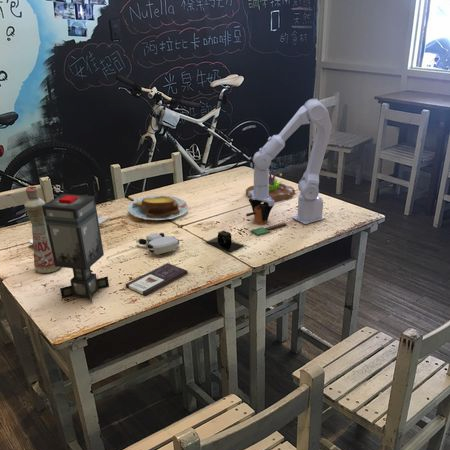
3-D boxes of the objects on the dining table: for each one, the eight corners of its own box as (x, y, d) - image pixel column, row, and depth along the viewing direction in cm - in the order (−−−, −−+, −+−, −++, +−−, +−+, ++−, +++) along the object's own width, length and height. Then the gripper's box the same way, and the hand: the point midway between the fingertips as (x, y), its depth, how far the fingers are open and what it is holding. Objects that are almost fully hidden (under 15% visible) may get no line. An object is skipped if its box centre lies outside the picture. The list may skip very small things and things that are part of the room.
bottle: (68, 263, 172) (51, 182, 158) (54, 275, 165) (35, 191, 151) (44, 261, 174) (26, 181, 160) (30, 273, 167) (9, 190, 152)
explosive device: (80, 282, 160) (62, 190, 145) (109, 286, 158) (94, 193, 142) (62, 298, 152) (40, 202, 137) (92, 303, 149) (74, 205, 134)
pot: (262, 218, 203) (262, 201, 200) (270, 222, 199) (270, 205, 196) (242, 223, 199) (242, 206, 195) (249, 227, 195) (249, 210, 192)
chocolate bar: (187, 270, 163) (145, 292, 152) (187, 273, 164) (145, 295, 152) (167, 262, 168) (125, 283, 157) (167, 265, 169) (126, 286, 157)
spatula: (281, 223, 198) (281, 221, 198) (288, 227, 194) (288, 225, 194) (250, 231, 192) (250, 229, 191) (257, 236, 188) (257, 234, 188)
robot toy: (134, 248, 183) (154, 260, 172) (132, 236, 181) (152, 247, 170) (164, 239, 189) (185, 250, 178) (163, 228, 187) (184, 238, 176)
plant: (238, 194, 227) (237, 170, 222) (268, 184, 239) (268, 160, 233) (271, 205, 215) (271, 179, 209) (301, 194, 226) (302, 169, 220)
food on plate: (178, 198, 225) (177, 184, 222) (197, 217, 205) (196, 202, 202) (122, 207, 217) (120, 192, 214) (135, 227, 198) (133, 211, 194)
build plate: (244, 246, 181) (244, 234, 178) (229, 253, 176) (229, 241, 174) (219, 236, 188) (219, 225, 186) (205, 243, 184) (204, 231, 181)
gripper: (241, 181, 196) (242, 214, 203) (263, 191, 185) (263, 226, 192) (257, 178, 199) (256, 211, 206) (279, 187, 188) (278, 222, 195)
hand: (260, 218), depth 199 cm, fingers closed on pot, 5 cm apart
